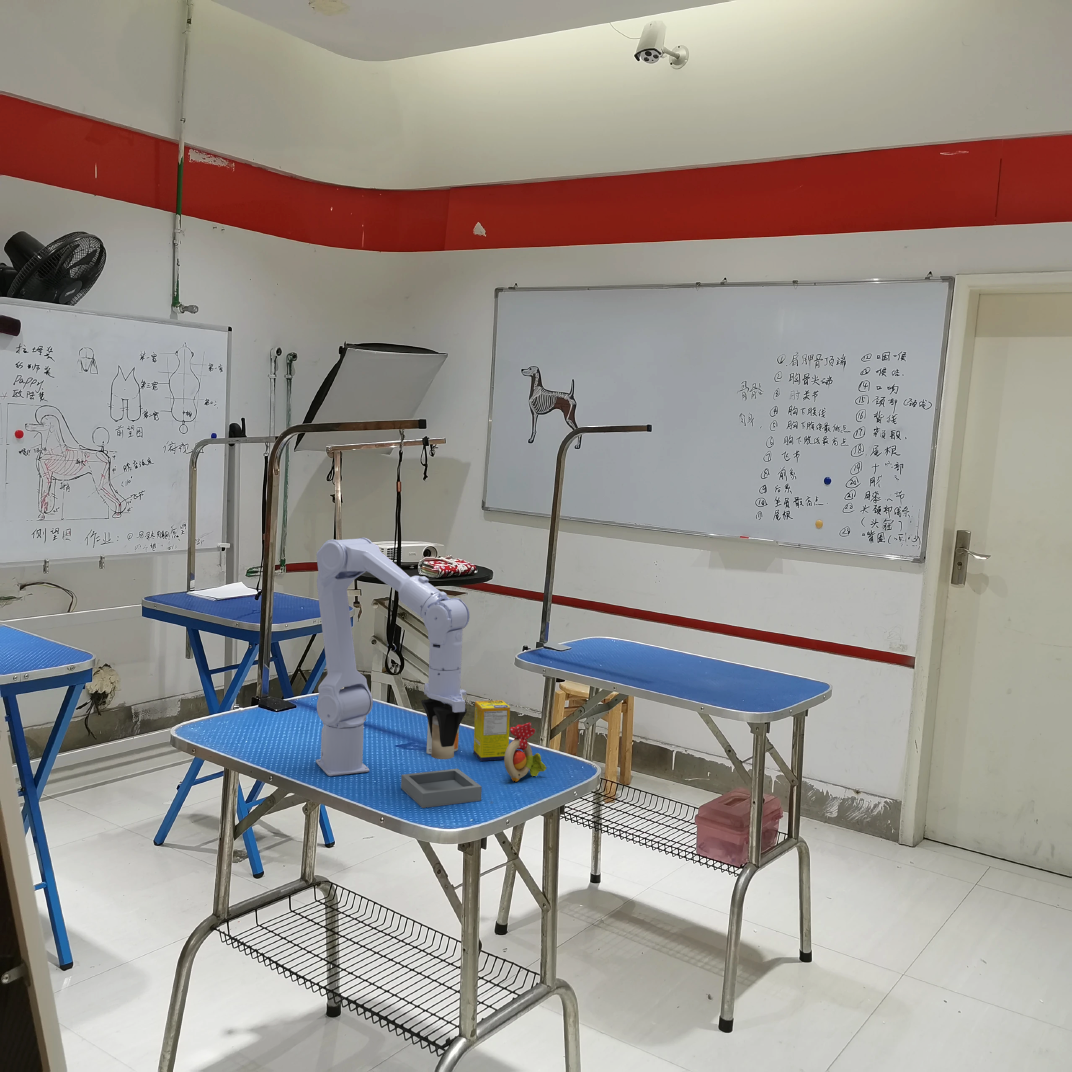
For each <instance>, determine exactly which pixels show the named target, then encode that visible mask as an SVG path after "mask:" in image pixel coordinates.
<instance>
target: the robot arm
mask: <svg viewBox="0 0 1072 1072" xmlns="http://www.w3.org/2000/svg"><path fill="white" fill-rule="evenodd" d="M315 555H316V562H317V564H316V565H317V570H318V572H317V578H316V588H317V597H318V605H319V613H320V620H321V630H322V631H321V632H322V636H323V637H322V638H323V645H324V646H323V647H324V654H325V663H326V671H327V675H326V676H325V677H324V678H323V680H322V681H321V682H320V684H319V685H318V687H317V691H318V698H317V702H316V712H317V714H318V717H319V720H321V722H322V729H321V733H320V734H321V737H320V739H321V741H320V758H319V759H316V760H315V763H316V764H317V765H318V766H319V768H321V770H322V771H323V772H324V773H325V774H326V775H327V776H329V777H332V776H333V777H334V776H343V775H350V774H359V773H368V772H370V769H369V767H368V766H366V765H365V764H364V763H363V762H364V761H363V758H364V757H363V756H364V753H363V752H364V725H365V724H364V723H365V721H367V716H368V715H369V714H370V712H371V711H372V709H373V705H374V701H373V696H372V695H373V694H372V693H371V691H370V688H369V686H368V681H367V678H366V677H365V676H364V675H363V674H362V673H361V672H359V671H358V669H357V661H356V655H355V653H356V652H355V646H354V637H353V628H352V622H351V621H352V620H351V613H350V612H351V611H350V604H349V596H348V589H349V587H350V586H351V585H352V583H353V582H354V581H355V580H356V579H357V578H358V577H360V576H361V575H363V574H364V573H366V572H367V573H369V574H371V575H372V576H374V577H376V578H377V579H378V580H379V581H381V582H383V583H384V584H386V585H387V586H389V587H391V588H392V589H394V590H395V591H396V592H398V593H397V594H398V599H399V601H400V602H401V603H402V605H404V606H406V607H407V608H408V609H409V610H411V611H412V612H414V613H415V614H416V615H417V616H419V617H420V618H421V619H423V624H424V627H425V628H426V630H427V640H428V642H429V659H428V682H427V683H426V682H425V683H424V687H423V688H424V690H423V693H424V695H426V697H428V699H422V700H420V701H421V702H420V703H421V705H422V708H423V709H424V711H425V714H426V715H425V716H426V718H427V723H428V722H429V728H430V733H431V738H432V722H433V716H435V715H436V717H437V720H438V725H439V733H440V743H441V746H442V747H449V746H453V745H454V742H455V738H456V735H457V731H458V728H459V729H460V725H461V723H462V720H463V719H464V718H465V716H466V714H467V712H468V711H467V710H468V709H467V708H466V700H464V698H463V696H467V690H466V689H463V688H461V686H462V685H461V683H462V681H461V680H462V660H463V659H462V654H463V650H462V649H463V631H464V630H463V629H464V628H465V629H466V627H467V626H468V624H469V621H470V610H469V607H468V605H467V604H466V603H465V602H464V601H463V600H462V598H459V597H452V598H451V597H449V596H448V594H447V593H446V592H444V591H440V590H439V589H438V588H436V587H435V586H434V585H432V584H431V583H429V580H430V579H429V578H427V577H426V576H424V575H423V576H420V575H413V576H410V575H408V574H407V573H406V572H405V571H404V570H403V569H402V568H401V567H400V566H398V565H397V564H396V563H395V562H394V561H392V560H391V559H390V558H389V557H388V556H387V555H385V554H384V553H383V552H382V551H381V550H380V546H379V545H378V544H376V543H373V542H372V541H371V539H369V538H366V537H358V538H349V539H348V538H347V539H328V540H326V541H325V542H324V543H323V544H322V545H321V547H320V548H319V549H318V551H317V552H316V554H315Z"/></svg>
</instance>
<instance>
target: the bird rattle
mask: <svg viewBox="0 0 1072 1072" xmlns="http://www.w3.org/2000/svg"><path fill="white" fill-rule="evenodd" d="M535 732H536V729H535V728H532V723H531V722H530V721H529V722H526V723H524V724H517V725H516V726H511V727H509V733H510V734H511V735H512V736H514V739H513V740H512V741H511V742H509V746H508V747H507V749H506V752H505V757H504V759H503V760H504V761H503V762H504V768H505V771H506V772H507V774H508V776H509V777H510V778H511V780H512V782H514V781H515V782H514V783H516V782H518V781H520V780H521V778H523V777H525V776H526V775H527V774H528V773H530V775H531V777H533V776H538V775H539V773H541V772H545V771H546V770H547V768H548V767H547V766H546V764H544V762H543V761H542V755H541V754H540V753H538V752H537V753H535V754H534V755H533V750H532V746H531V745H530V743H529V742H528V739H530V738H531V737H532V736H534V734H535Z"/></svg>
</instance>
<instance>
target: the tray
mask: <svg viewBox="0 0 1072 1072" xmlns="http://www.w3.org/2000/svg"><path fill="white" fill-rule="evenodd" d="M400 776H401V777H400V780H401V781H400V789H402V791H403V792H404V793H405V794H407V796H408V797H410V798H411V799H412V800H413V801H414V802H415V803H416V804H417V805H418V806H420V807H421V808H422V809H425V808H426V807H427V808H432V807H433V808H434V807H439V806H440V807H442V806H448V805H450V806H451V805H457V804H463V803H472V802H481V801H482V790H483V789H482V785H480V784H479V783H478V782H477V781H475V780H474V779H472V778H471V777H470V776H469V775H467V774H466V773H464V772H463V771H461V770H460V769H459V768H452V769H442V770H441V769H440V770H433V771H423V772H416V773H415V772H413V773H406V774H401V775H400Z"/></svg>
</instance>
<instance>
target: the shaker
mask: <svg viewBox="0 0 1072 1072" xmlns="http://www.w3.org/2000/svg"><path fill="white" fill-rule="evenodd" d="M430 755H431V758H433V759H436V760H449V759H453V758H454V757H455V751H454V745H453V746H449V747H442V746H441V743H440V733H439V725H438V720H437V717H436V715H435V716H433V722H432V752H431V754H430Z"/></svg>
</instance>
